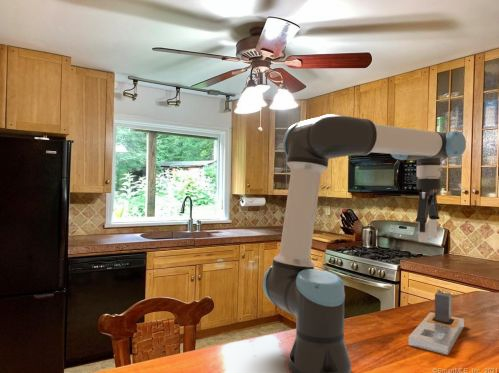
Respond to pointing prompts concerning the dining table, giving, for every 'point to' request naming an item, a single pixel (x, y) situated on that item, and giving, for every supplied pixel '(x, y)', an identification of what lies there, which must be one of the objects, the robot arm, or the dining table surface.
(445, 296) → the steel peg
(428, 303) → the dining table surface
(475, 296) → the dining table surface
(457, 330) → the grey peg hole board
